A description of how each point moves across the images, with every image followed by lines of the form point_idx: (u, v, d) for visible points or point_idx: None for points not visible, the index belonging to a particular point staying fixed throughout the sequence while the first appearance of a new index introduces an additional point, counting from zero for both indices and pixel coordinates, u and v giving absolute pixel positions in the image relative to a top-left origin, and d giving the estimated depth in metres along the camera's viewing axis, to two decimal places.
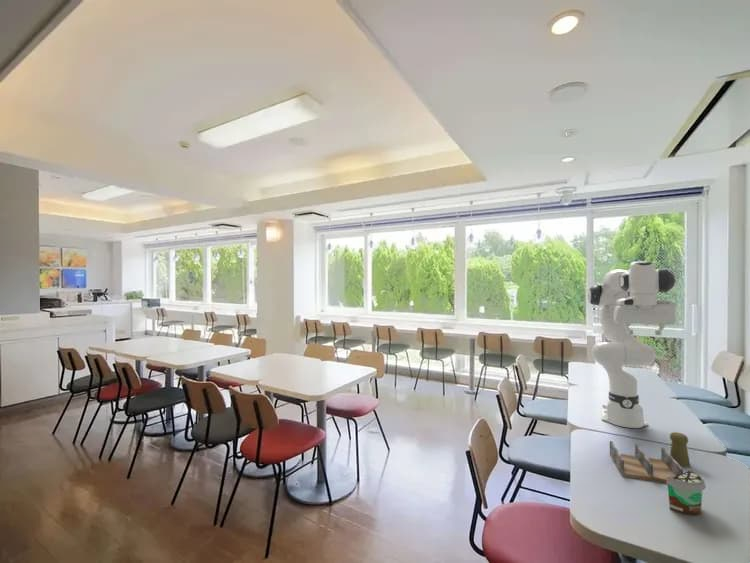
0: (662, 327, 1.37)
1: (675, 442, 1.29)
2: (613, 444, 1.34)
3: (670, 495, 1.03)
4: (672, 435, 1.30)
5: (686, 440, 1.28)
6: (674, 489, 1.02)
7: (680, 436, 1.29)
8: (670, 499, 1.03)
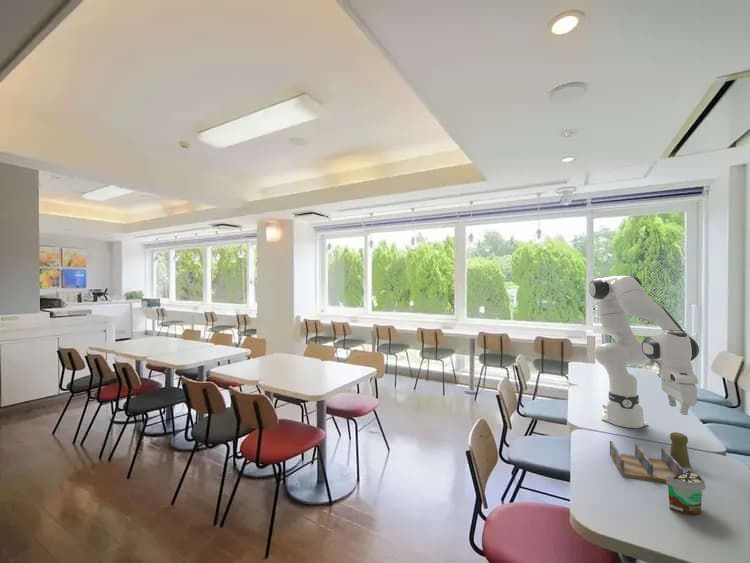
0: None
1: (675, 442, 1.29)
2: (613, 444, 1.34)
3: (670, 495, 1.03)
4: (672, 435, 1.30)
5: (686, 440, 1.28)
6: (674, 489, 1.02)
7: (680, 436, 1.29)
8: (670, 499, 1.03)
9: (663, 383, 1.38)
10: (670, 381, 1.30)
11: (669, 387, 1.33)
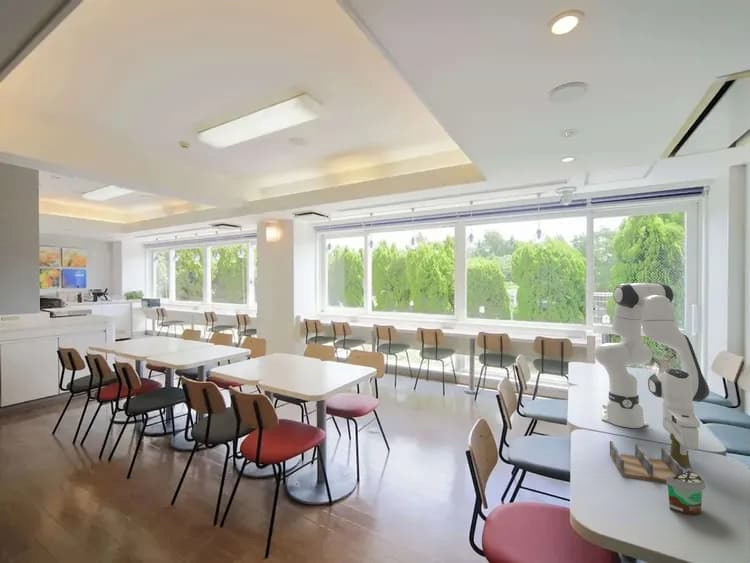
0: None
1: (675, 442, 1.29)
2: (613, 444, 1.34)
3: (670, 495, 1.03)
4: (672, 435, 1.30)
5: None
6: (674, 489, 1.02)
7: None
8: (670, 499, 1.03)
9: (664, 421, 1.38)
10: (671, 422, 1.30)
11: (670, 427, 1.33)
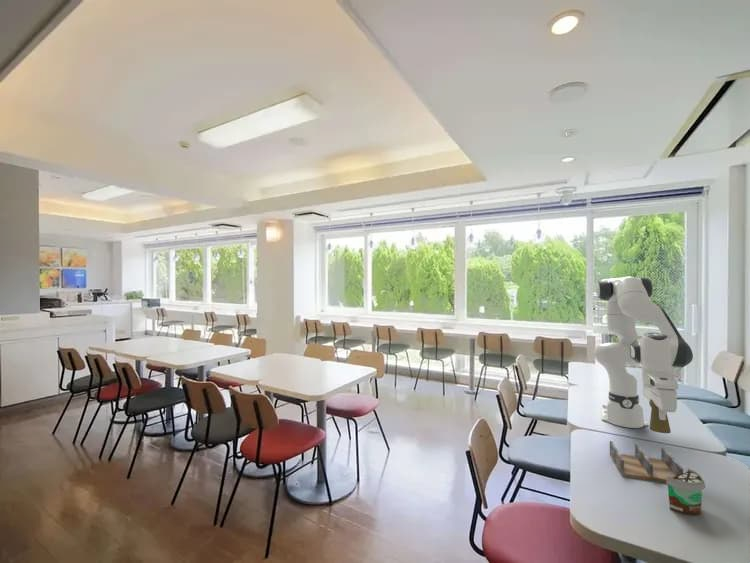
0: None
1: (654, 408, 1.24)
2: (613, 444, 1.34)
3: (670, 495, 1.03)
4: (651, 401, 1.25)
5: None
6: (674, 489, 1.02)
7: None
8: (670, 499, 1.03)
9: (644, 388, 1.33)
10: (650, 386, 1.25)
11: (649, 392, 1.27)
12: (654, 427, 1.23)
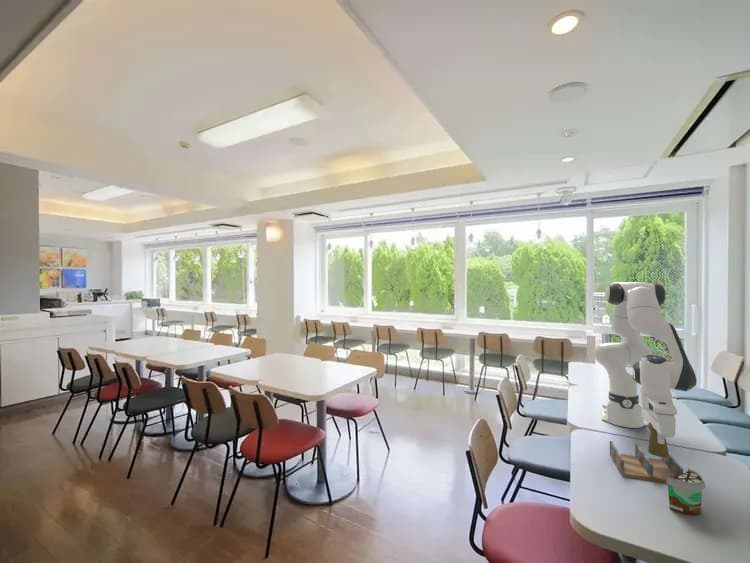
0: None
1: (653, 431, 1.24)
2: (613, 444, 1.34)
3: (670, 495, 1.03)
4: (650, 424, 1.25)
5: None
6: (674, 489, 1.02)
7: None
8: (670, 499, 1.03)
9: (643, 410, 1.32)
10: (649, 409, 1.24)
11: (648, 415, 1.27)
12: (653, 451, 1.23)
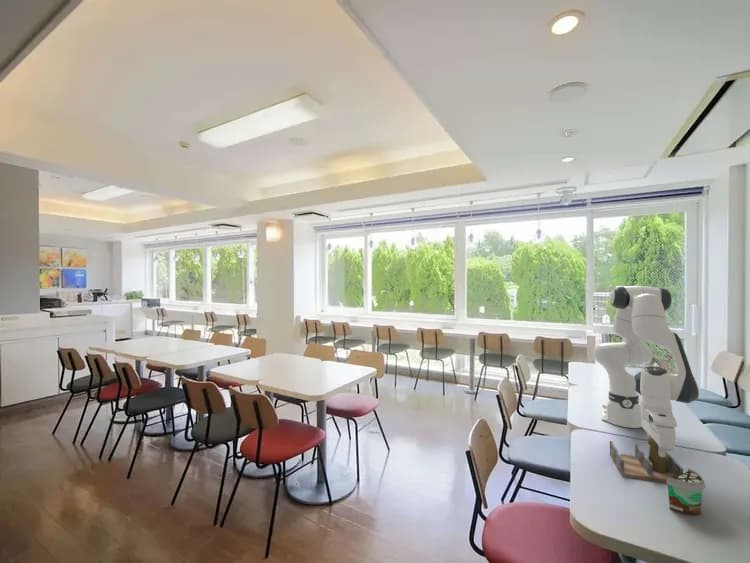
0: None
1: (652, 446, 1.24)
2: (613, 444, 1.34)
3: (670, 495, 1.03)
4: (649, 439, 1.25)
5: None
6: (674, 489, 1.02)
7: None
8: (670, 499, 1.03)
9: (643, 420, 1.32)
10: (649, 421, 1.24)
11: (648, 426, 1.27)
12: None
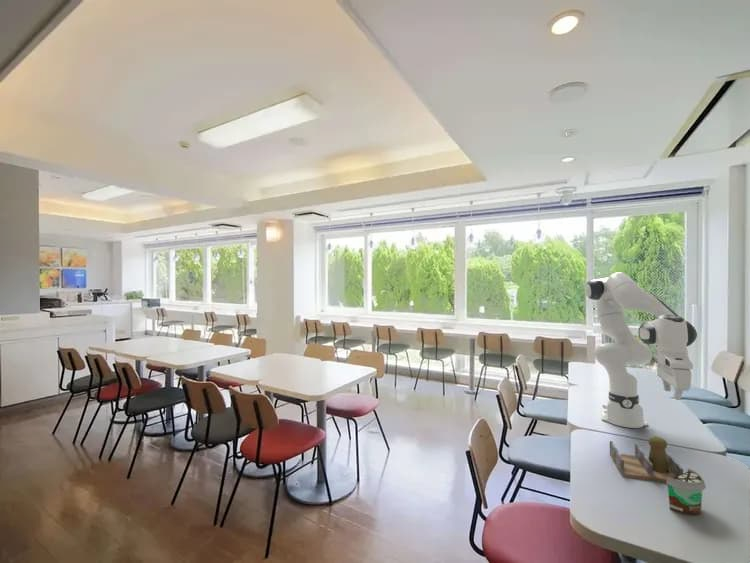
0: None
1: (653, 447, 1.23)
2: (613, 444, 1.34)
3: (670, 495, 1.03)
4: (650, 439, 1.25)
5: (665, 445, 1.22)
6: (674, 489, 1.02)
7: (659, 440, 1.23)
8: (670, 499, 1.03)
9: (658, 368, 1.38)
10: (665, 366, 1.30)
11: (664, 372, 1.33)
12: None
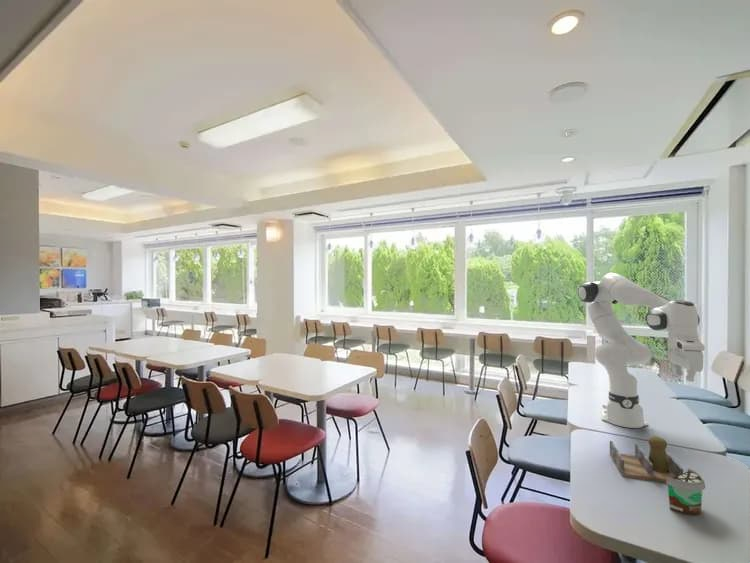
0: None
1: (653, 447, 1.23)
2: (613, 444, 1.34)
3: (670, 495, 1.03)
4: (650, 439, 1.25)
5: (665, 445, 1.22)
6: (674, 489, 1.02)
7: (658, 440, 1.23)
8: (670, 499, 1.03)
9: (669, 353, 1.41)
10: (677, 349, 1.33)
11: (675, 356, 1.36)
12: None
